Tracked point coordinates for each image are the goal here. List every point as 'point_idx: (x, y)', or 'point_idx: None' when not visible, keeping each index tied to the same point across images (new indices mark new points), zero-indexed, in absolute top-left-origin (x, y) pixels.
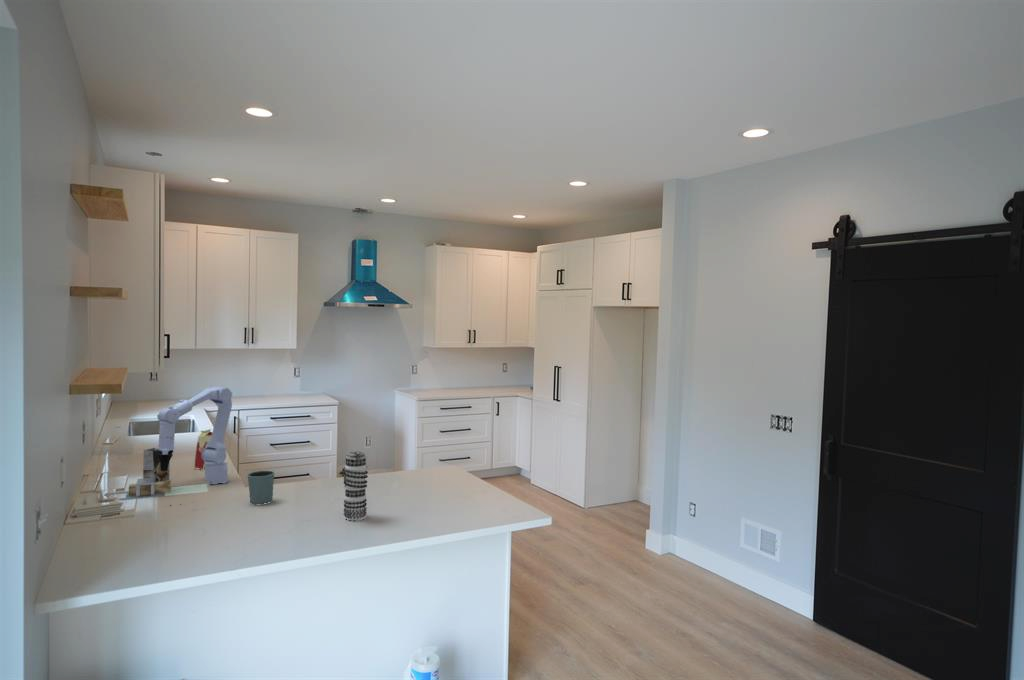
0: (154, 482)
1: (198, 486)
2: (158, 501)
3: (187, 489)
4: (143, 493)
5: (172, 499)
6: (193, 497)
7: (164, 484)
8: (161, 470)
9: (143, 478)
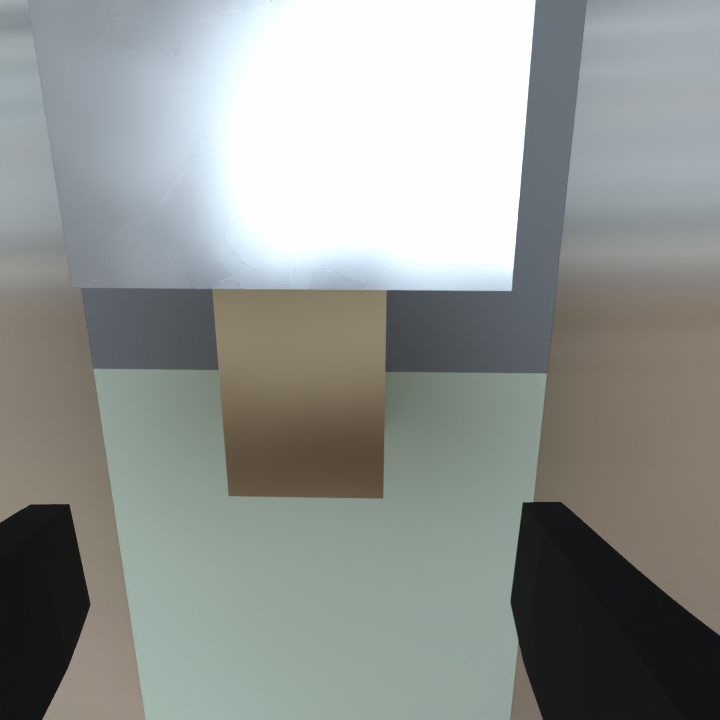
0: (123, 284)
1: (419, 689)
2: (46, 289)
3: (327, 593)
4: None
5: (95, 430)
6: (115, 609)
7: (226, 410)
8: (16, 516)
9: (514, 53)
